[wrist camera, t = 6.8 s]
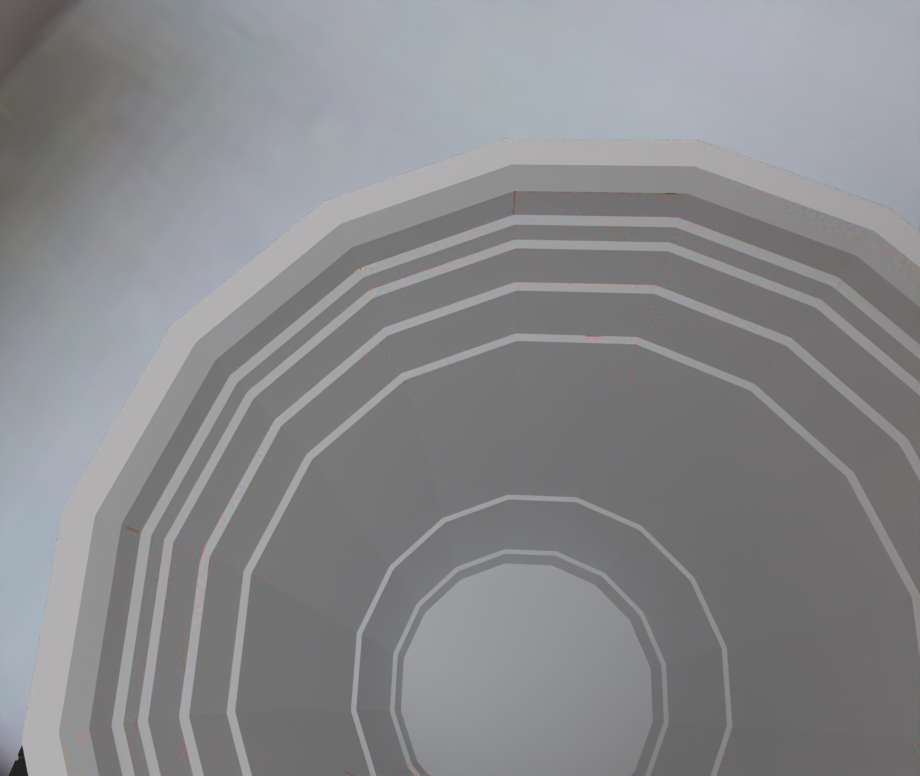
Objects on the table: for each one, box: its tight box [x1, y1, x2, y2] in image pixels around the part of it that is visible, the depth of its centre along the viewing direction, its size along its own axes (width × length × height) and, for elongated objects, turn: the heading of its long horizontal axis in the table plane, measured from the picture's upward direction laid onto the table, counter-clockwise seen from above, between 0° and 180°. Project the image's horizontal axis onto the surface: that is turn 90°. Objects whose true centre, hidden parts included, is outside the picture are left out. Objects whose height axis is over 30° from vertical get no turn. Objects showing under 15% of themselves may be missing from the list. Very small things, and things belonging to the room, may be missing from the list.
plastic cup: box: [21, 138, 920, 776], centre depth 13 cm, size 11×11×12 cm
